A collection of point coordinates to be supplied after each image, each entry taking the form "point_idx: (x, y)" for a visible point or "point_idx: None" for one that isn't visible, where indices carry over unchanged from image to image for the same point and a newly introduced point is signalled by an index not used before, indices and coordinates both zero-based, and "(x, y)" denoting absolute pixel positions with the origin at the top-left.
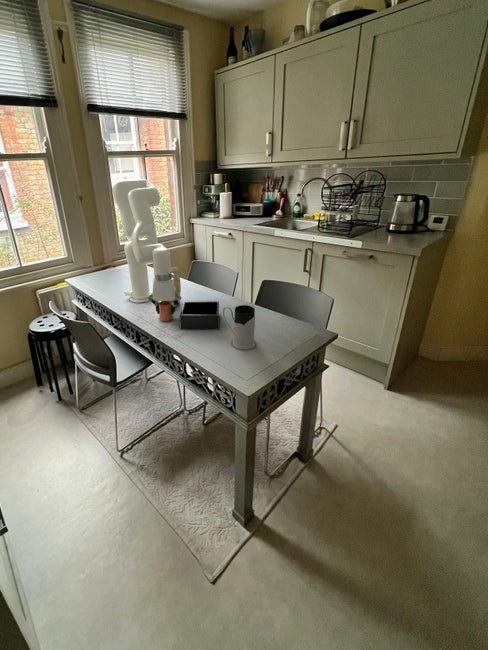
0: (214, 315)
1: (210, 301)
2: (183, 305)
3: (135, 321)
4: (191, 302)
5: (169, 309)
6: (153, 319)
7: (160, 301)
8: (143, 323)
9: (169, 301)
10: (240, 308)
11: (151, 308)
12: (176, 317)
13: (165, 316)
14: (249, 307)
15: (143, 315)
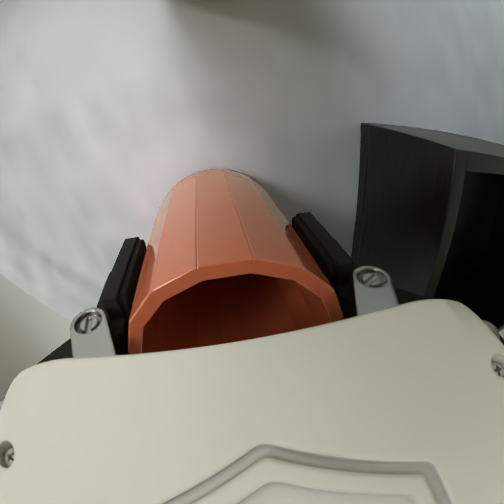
0: (502, 329)
1: None
2: (441, 261)
3: (26, 292)
4: (498, 172)
5: (291, 327)
6: (111, 247)
7: (138, 328)
8: (81, 309)
9: (303, 286)
10: None
11: (21, 57)
12: (302, 181)
13: (235, 303)
14: None
15: (13, 200)
